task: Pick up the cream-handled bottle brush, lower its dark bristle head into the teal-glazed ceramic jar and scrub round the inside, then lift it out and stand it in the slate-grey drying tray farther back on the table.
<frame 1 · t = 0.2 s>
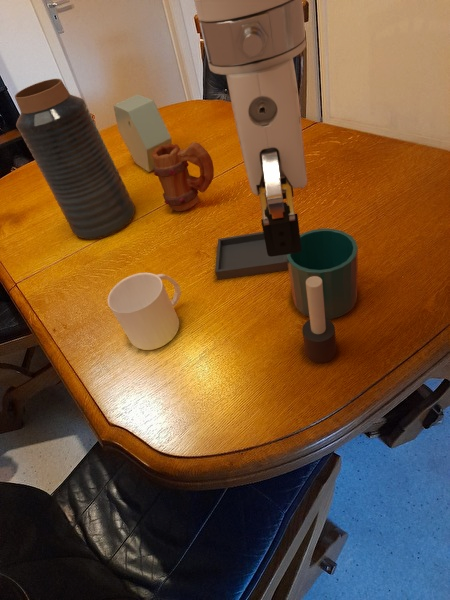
hand: (281, 223, 42), 24 cm above the table, tool pointing down, fingers open, 9 cm apart
brush: (320, 351, 59), on the table
vase: (105, 221, 101), on the table
jar: (324, 296, 67), on the table
mug: (194, 206, 97), on the table
tray: (252, 257, 78), on the table
mug 2: (162, 326, 70), on the table
pale green angular block: (154, 163, 120), on the table
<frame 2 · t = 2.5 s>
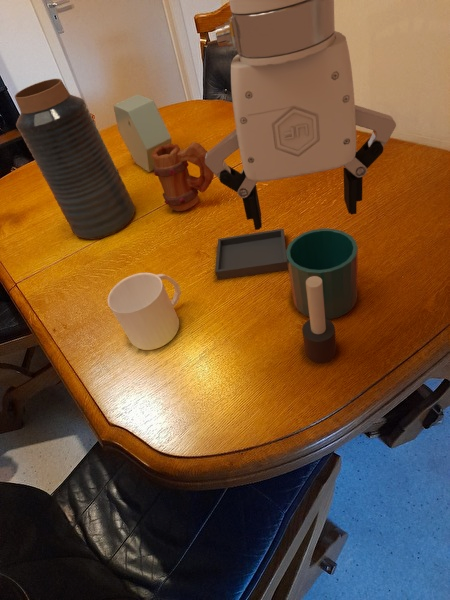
hand: (303, 214, 43), 24 cm above the table, tool pointing down, fingers open, 9 cm apart
nothing on the table moved.
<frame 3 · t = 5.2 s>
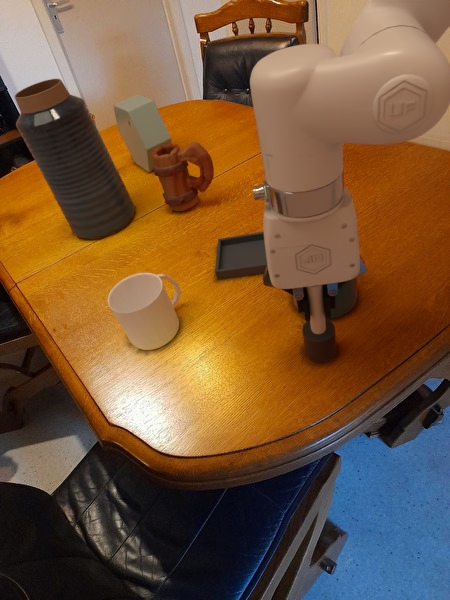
hand: (316, 311, 53), 9 cm above the table, tool pointing down, fingers closed on brush, 2 cm apart
brush: (320, 350, 59), on the table, touching gripper
everything else where it was.
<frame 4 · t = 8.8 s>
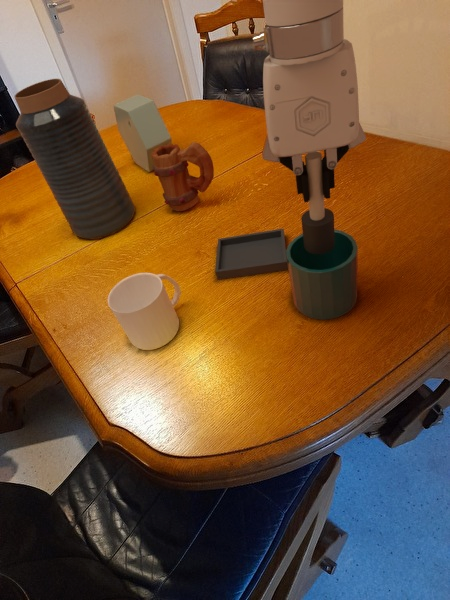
hand: (315, 194, 54), 19 cm above the table, tool pointing down, fingers closed on brush
brush: (319, 245, 59), point 11 cm above the table, touching gripper
everything else where it was.
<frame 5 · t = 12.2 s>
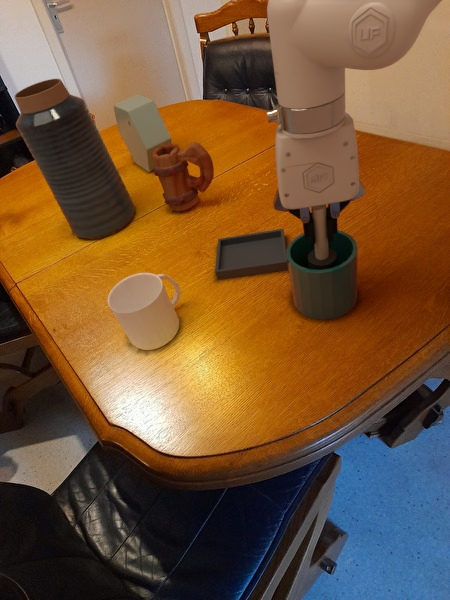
hand: (320, 237, 60), 11 cm above the table, tool pointing down, fingers closed on brush
brush: (323, 279, 66), point 3 cm above the table, touching gripper
everything else where it was.
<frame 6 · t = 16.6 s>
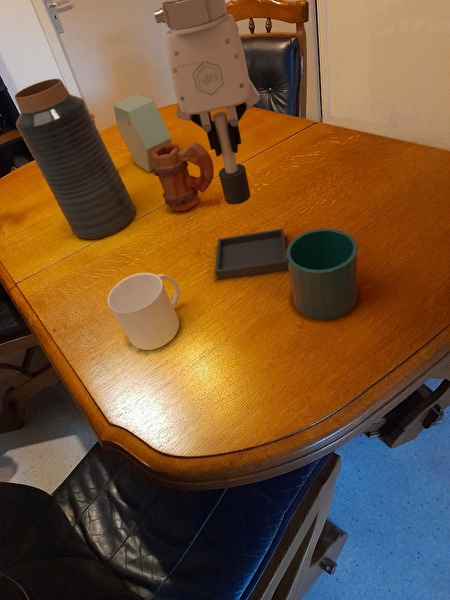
hand: (227, 150, 63), 22 cm above the table, tool pointing down, fingers closed on brush
brush: (237, 197, 69), point 13 cm above the table, touching gripper
everything else where it was.
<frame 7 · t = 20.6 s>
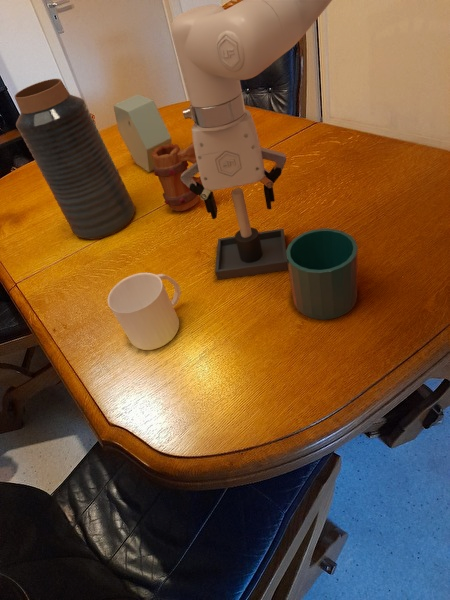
hand: (241, 209, 71), 11 cm above the table, tool pointing down, fingers open, 9 cm apart
brush: (251, 255, 78), resting on tray
everything else where it was.
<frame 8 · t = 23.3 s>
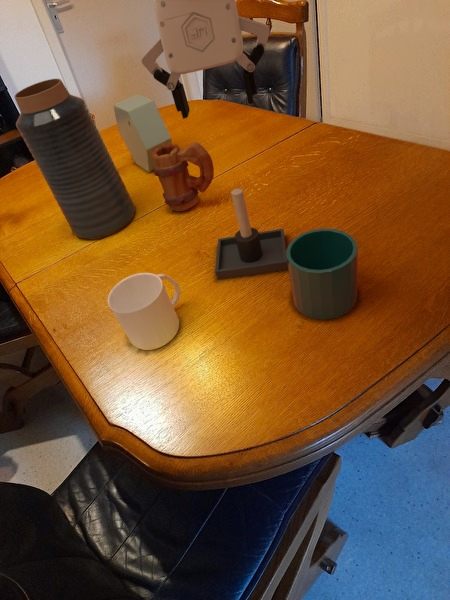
hand: (218, 107, 59), 28 cm above the table, tool pointing down, fingers open, 9 cm apart
nothing on the table moved.
at the end: brush inside the target area in the tray (0.1 cm from its centre), point 0.5 cm above the tray's base; brush tilted 0°; the gripper is holding nothing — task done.
